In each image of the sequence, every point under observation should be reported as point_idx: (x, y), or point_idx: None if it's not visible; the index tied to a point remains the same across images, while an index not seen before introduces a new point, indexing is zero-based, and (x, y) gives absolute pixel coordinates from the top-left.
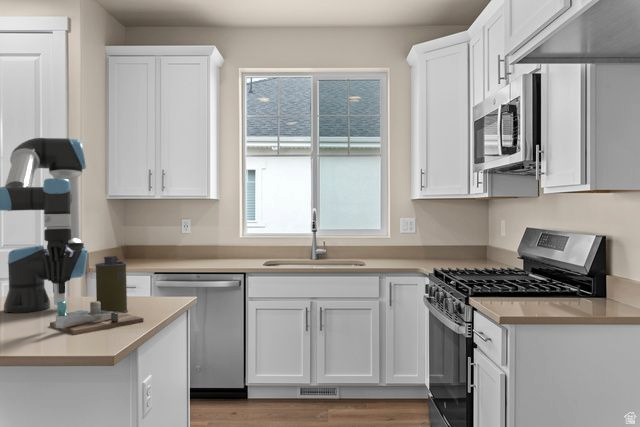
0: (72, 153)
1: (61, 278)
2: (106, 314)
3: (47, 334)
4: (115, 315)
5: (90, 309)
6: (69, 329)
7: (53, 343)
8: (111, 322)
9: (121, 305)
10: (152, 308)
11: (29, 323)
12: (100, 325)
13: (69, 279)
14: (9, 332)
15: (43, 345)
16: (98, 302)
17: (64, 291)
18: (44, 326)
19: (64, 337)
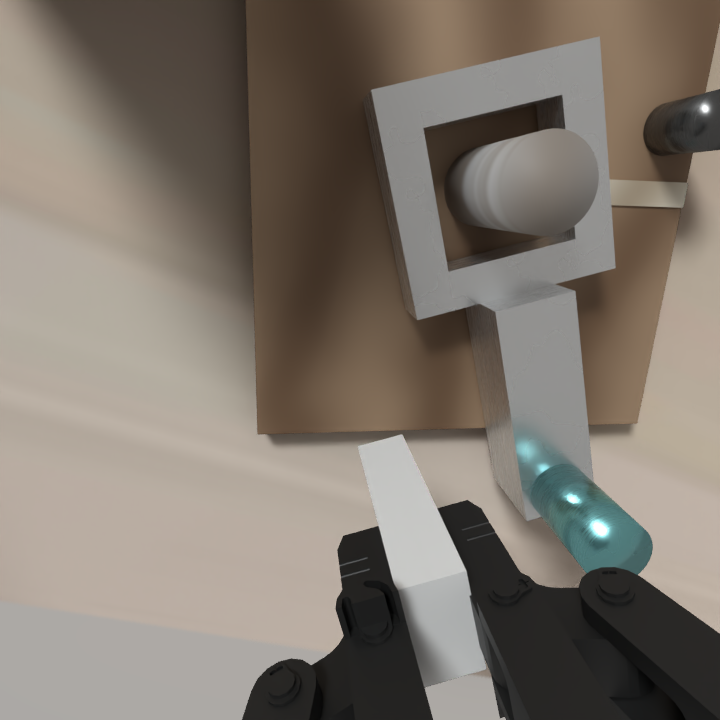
0: None
1: (619, 706)
2: (601, 137)
3: (485, 506)
4: None
5: (506, 230)
6: None
7: (693, 545)
8: (659, 155)
9: None
10: None
11: (31, 480)
12: (666, 257)
13: (638, 585)
14: (246, 623)
15: (685, 583)
16: (597, 172)
17: (484, 518)
18: (235, 447)
19: (633, 472)
